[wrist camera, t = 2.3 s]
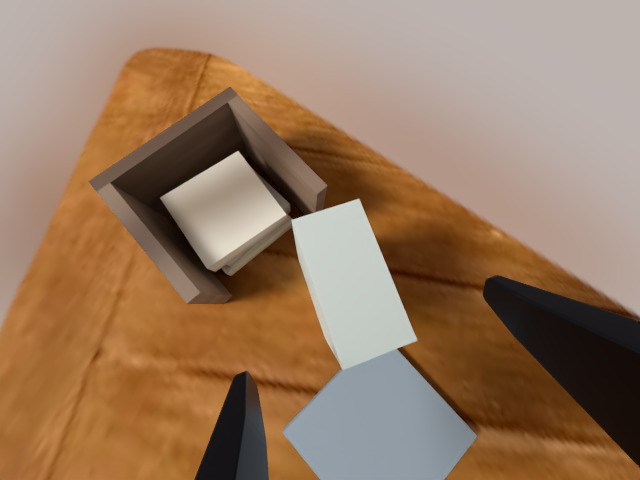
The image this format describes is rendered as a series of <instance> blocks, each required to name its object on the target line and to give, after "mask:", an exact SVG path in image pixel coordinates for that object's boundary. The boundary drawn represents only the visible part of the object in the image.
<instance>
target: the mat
mask: <svg viewBox="0 0 640 480" xmlns="http://www.w3.org/2000/svg"><path fill="white" fill-rule="evenodd" d="M283 434H284V435H285V436H286V437H287V439H288V440H289V441H290V442H291V444H292V445H293V446H294V447H295V449H296V450H297V451H298V452H299V454H300V455H301V456H302V457H303V459H304V460H305V461H306V462H307V464H308V465H309V466H310V467H311V469H312V470H313V471H314V472H315V474H316V475H317V476H318V477H319V479H320V480H444V479H445V478H446V477H447V475H448V474H449V473H450V472H451V470H452V469H453V468H454V466H455V465H456V464H457V462H458V461H459V460H460V459H461V457H462V456H463V455H464V453H465V452H466V451H467V449H468V448H469V447H470V446H471V444H472V443H473V442H474V440H475V439H476V438H477V435H476V434H475V433H474V432H473V431H472V430H471V429H470V428H469V426H468V425H467V424H466V423H465V422H464V421H463V420H462V419H461V418H460V417H459V416H458V415H457V414H456V412H455V411H454V410H453V409H452V408H451V407H450V406H449V405H448V404H447V403H446V402H445V401H444V399H443V398H442V397H441V396H440V395H439V394H438V393H437V392H436V391H435V390H434V389H433V388H432V386H431V385H430V384H429V383H428V382H427V381H426V380H425V379H424V378H423V377H422V376H421V375H420V374H419V372H418V371H417V370H416V369H415V368H414V367H413V366H412V365H411V364H410V363H409V362H408V361H407V359H406V358H405V357H404V356H403V355H402V354H401V353H400V352H399V351H398V350H397V349H395V350H392V351H390V352H387V353H385V354H382V355H380V356H377V357H375V358H372V359H370V360H367V361H365V362H363V363H360V364H358V365H355V366H353V367H350V368H348V369H345V370H342V368H341V369H340V370H339V371H338V372H337V373H336V374H335V375H334V377H333V378H332V379H331V380H330V381H329V382H328V383H327V384H326V385H325V386H324V387H323V388H322V389H321V390H320V391H319V392H318V393H317V394H316V395H315V396H314V397H313V398H312V400H311V401H310V402H309V403H308V404H307V405H306V406H305V407H304V408H303V409H302V410H301V411H300V412H299V413H298V414H297V415H296V416H295V417H294V418H293V419H292V420H291V421H290V422H289V424H288V425H287V426H286V427H285V428H284V429H283Z"/></svg>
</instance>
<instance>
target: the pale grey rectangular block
mask: <svg viewBox="0 0 640 480" xmlns="http://www.w3.org/2000/svg"><path fill="white" fill-rule="evenodd" d="M291 221H292V226H293V232H294V238H295V243H296V249H297V255H298V260H299V263H300V266H301V269H302V271H303V274H304V277H305V280H306V283H307V286H308V289H309V292H310V295H311V298H312V301H313V304H314V307H315V310H316V313H317V316H318V319H319V322H320V325H321V328H322V331H323V334H324V337H325V339H326V341H327V343H328V344H329V346H330V348H331V350H332V352H333V353H334V355H335V357H336V359H337V361H338V362H339V364H340V366H341V368H342V370H345V369H348V368H350V367H353V366H355V365H358V364H360V363H363V362H365V361H367V360H370V359H372V358H375V357H377V356H380V355H382V354H385V353H387V352H390V351H392V350H395V349H397V348H400V347H402V346H405V345H407V344H410V343H412V342H415V341H417V338H416V336H415V334H414V331H413V329H412V326H411V324H410V321H409V319H408V316H407V314H406V312H405V309H404V307H403V304H402V302H401V299H400V297H399V294H398V292H397V290H396V287H395V285H394V282H393V280H392V277H391V275H390V272H389V270H388V268H387V265H386V263H385V260H384V258H383V255H382V253H381V251H380V248H379V246H378V243H377V241H376V238H375V236H374V233H373V231H372V229H371V226H370V224H369V221H368V219H367V216H366V214H365V211H364V209H363V207H362V204H361V202H360V199H356V200H353V201H350V202H347V203H344V204H340V205H337V206H334V207H331V208H328V209H325V210H321V211H318V212H315V213H312V214H309V215H306V216H302V217H299V218H296V219H293V220H291Z"/></svg>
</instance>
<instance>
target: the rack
mask: <svg viewBox="0 0 640 480" xmlns="http://www.w3.org/2000/svg"><path fill="white" fill-rule="evenodd" d="M237 151H239V152H240V154H241V155H242V156H243V158H244V159H246V158H247V157H250V158H251V159H252V160H253V161H254V162H255V164H256V165H257V166H258V167H259V168H260V169H261V170H262V171H263V172H264V173H265V174H266V175H267V176H268V177H269V178H270V179H271V180H272V181H273V183H274V184H275V185H276V186H277V187H278V188H279V189H280V190H281V191H282V192H283V193H284V194H285V195H286V196H287V197H288V198H289V199H290V200H291V202H292V203H293V204H294V205H295V206H296V207H297V208H298V209H299V210H300V211H301V212H302V213H303V214H304V215H305V216H306V215H309V214H312V213H315V212H318V211H321V210H323V208H324V202H325V197H326V191H327V185H326V184H325V183H324V182H323V180H322V179H321V178H320V177H319V176H318V175H317V174H316V173H315V172H314V171H313V170H312V169H311V168H310V167H309V166H308V165H307V164H306V163H305V162H304V161H303V160H302V159H301V158H300V157H299V156H298V155H297V154H296V153H295V152H294V151H293V150H292V149H291V148H290V147H289V146H288V145H287V144H286V143H285V142H284V141H283V140H282V139H281V138H280V137H279V136H278V135H277V134H276V133H275V132H274V131H273V130H272V129H271V128H270V127H269V126H268V125H267V124H266V123H265V122H264V121H263V120H262V119H261V118H260V117H259V116H258V115H257V114H256V113H255V112H254V111H253V110H252V109H251V108H250V107H249V106H248V105H247V104H246V103H245V102H244V101H243V100H242V99H241V98H240V97H239V95H238V94H237V93H236V92H235V91H234V90H233V89H232V88H231V87H229V88H227V89H226V90H224V91H223V92H221V93H220V94H218V95H217V96H215V97H214V98H212V99H211V100H209V101H208V102H206V103H205V104H203V105H202V106H200V107H199V108H197V109H196V110H194V111H193V112H191V113H190V114H188V115H187V116H185V117H184V118H182V119H181V120H179V121H178V122H176V123H175V124H173V125H172V126H171V127H169V128H168V129H166V130H165V131H163V132H162V133H160V134H159V135H157V136H156V137H154V138H153V139H151V140H150V141H148V142H147V143H145V144H144V145H142V146H141V147H139V148H138V149H136V150H135V151H133V152H132V153H130V154H129V155H127V156H126V157H124V158H123V159H121V160H120V161H118V162H117V163H115V164H114V165H112V166H111V167H109V168H108V169H106V170H105V171H103V172H102V173H100V174H99V175H97V176H96V177H94V178H93V179H91V180H90V181H88V182H89V183H90V184H91V185H92V187H93V188H94V189H95V190H96V191H97V193H98V194H99V195H100V196H101V198H102V199H103V200H104V201H105V203H106V204H107V205H108V206H109V208H110V209H111V210H112V211H113V213H114V214H115V215H116V216H117V218H118V219H119V220H120V221H121V223H122V224H123V225H124V226H125V228H126V229H127V230H128V231H129V232H130V234H131V235H132V236H133V237H134V239H135V240H136V241H137V242H138V244H139V245H140V246H141V247H142V249H143V250H144V251H145V252H146V254H147V255H148V256H149V257H150V259H151V260H152V261H153V262H154V264H155V265H156V266H157V267H158V268H159V270H160V271H161V272H162V273H163V275H164V276H165V277H166V278H167V280H168V281H169V282H170V283H171V285H172V286H173V287H174V288H175V290H176V291H177V292H178V293H179V295H180V296H181V297H182V298H183V300H184V301H185V302H186V303H187V304H224V303H225V302H227V301H228V300H229V299H230V298H231V297H232V295H231V294H230V292H229V291H228V290H227V289H226V288H225V286H224V285H223V284H222V283H221V282H220V280H219V279H218V278H217V277H216V276H215V275H214V273H213V272H212V271H211V270H209V269H207V268H206V267H205V265H204V264H203V262H202V261H201V259H200V258H199V256H198V255H197V253H196V252H195V251H194V250H193V248H192V247H191V246H190V245H189V244H188V242H187V241H186V240H185V239H184V238H183V237H182V235H181V234H180V233H179V232H178V231H177V229H176V228H175V227H174V226H173V225H172V223H171V222H170V221H169V220H168V219H167V217H168V216H170V215H171V214H170V212H169V211H168V209H167V208H166V206H165V205H164V203H163V202H162V200H161V199H160V197H162V196H164V195H165V194H167V193H169V192H170V191H172V190H174V189H175V188H177V187H179V186H180V185H182V184H184V183H185V182H187V181H189V180H190V179H192V178H194V177H195V176H197V175H199V174H200V173H202V172H204V171H205V170H207V169H209V168H210V167H212V166H214V165H215V164H217V163H219V162H220V161H222V160H224V159H225V158H227V157H229V156H230V155H232V154H234V153H235V152H237Z"/></svg>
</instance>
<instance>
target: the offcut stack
mask: <svg viewBox="0 0 640 480" xmlns="http://www.w3.org/2000/svg"><path fill="white" fill-rule="evenodd" d="M160 199H161V200H162V202H163V203H164V205H165V206H166V208H167V209H168V211H169V212H170V214H171V215H172V217H173V218H174V220H175V221H176V223H177V224H178V226H179V227H180V229H181V230H182V232H183V233H184V235H185V236H186V238H187V239H188V241H189V242H190V244H191V246H192V247H193V249H194V250H195V252H196V253H197V255H198V256H199V258H200V259H201V261H202V262H203V264H204V265H205V267H206V268H207V269H209V270H212V271H215V272H216V271H217V270H219V269H220V268H222V270H223V271H224V272H225V273H226V274H228V275H230V276H232V275H233V274H235V273H236V272H237V271H238V270H240V269H241V268H242V267H243V266H244V265H246V264H247V263H248V262H249V261H251V260H252V259H253V258H254V257H256V256H257V255H258V254H259V253H261V252H262V251H263V250H264V249H266V248H267V247H268V246H269V245H271V244H272V243H273V242H274V241H276V240H277V239H278V238H279V237H281V236H282V235H283V234H284V233H286V232H287V231H288V230H289V229H291V228H292V227H293V226H292V221H291V220H293V219H292V218H291V217H290V216H289V215H288V213H289V212H291V209H290V203H288V202H287V201H286V200H285V199H284V198H283V197H282V196H281V195H280V194H279V193H278V192H277V191H276V190H275V189H274V188H273V187H272V186H270V185H269V184H268V183H267V182H266V181H265V180H264V179H263V178H262V177H261V176H260V175H259V174H258V173H257V172H256V171H255V170H253V169H252V168H251V167H250V166H249V164H248V163H247V162H246V160H245V159H244V158H243V156H242V155H241V154H240V152H239V151H237V152H235V153H234V154H232V155H230V156H229V157H227V158H225V159H224V160H222V161H220V162H219V163H217V164H215V165H214V166H212V167H210V168H209V169H207V170H205V171H204V172H202V173H200V174H199V175H197V176H195V177H194V178H192V179H190V180H189V181H187V182H185V183H184V184H182V185H180V186H179V187H177V188H175V189H174V190H172V191H170V192H169V193H167V194H165V195H164V196H162V197H160Z"/></svg>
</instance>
